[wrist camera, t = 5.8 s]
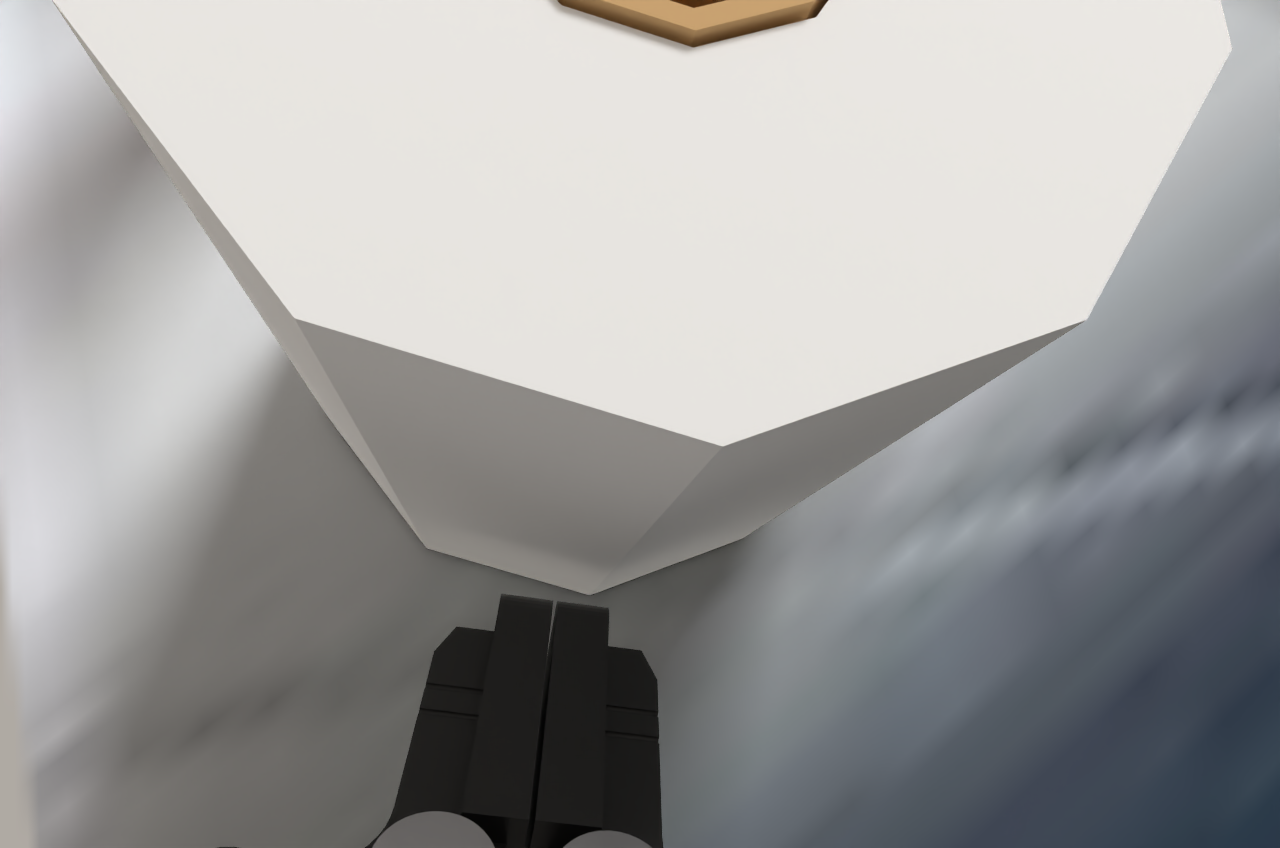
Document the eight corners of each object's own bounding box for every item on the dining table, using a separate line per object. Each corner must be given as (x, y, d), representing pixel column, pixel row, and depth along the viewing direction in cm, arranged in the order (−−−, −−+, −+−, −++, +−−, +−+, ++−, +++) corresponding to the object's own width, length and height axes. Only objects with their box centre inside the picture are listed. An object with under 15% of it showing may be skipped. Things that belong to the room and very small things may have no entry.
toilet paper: (499, 699, 18) (485, 722, 6) (228, 252, 19) (-186, -396, 8) (914, 423, 20) (1451, 75, 9) (646, 47, 22) (801, -669, 10)
